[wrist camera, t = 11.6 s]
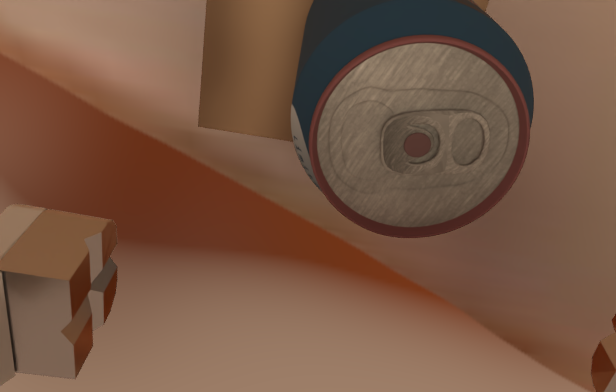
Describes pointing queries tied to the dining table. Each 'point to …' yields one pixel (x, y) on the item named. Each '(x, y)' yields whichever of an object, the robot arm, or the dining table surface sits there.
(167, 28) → the dining table surface
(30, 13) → the dining table surface
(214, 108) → the block
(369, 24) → the soda can
